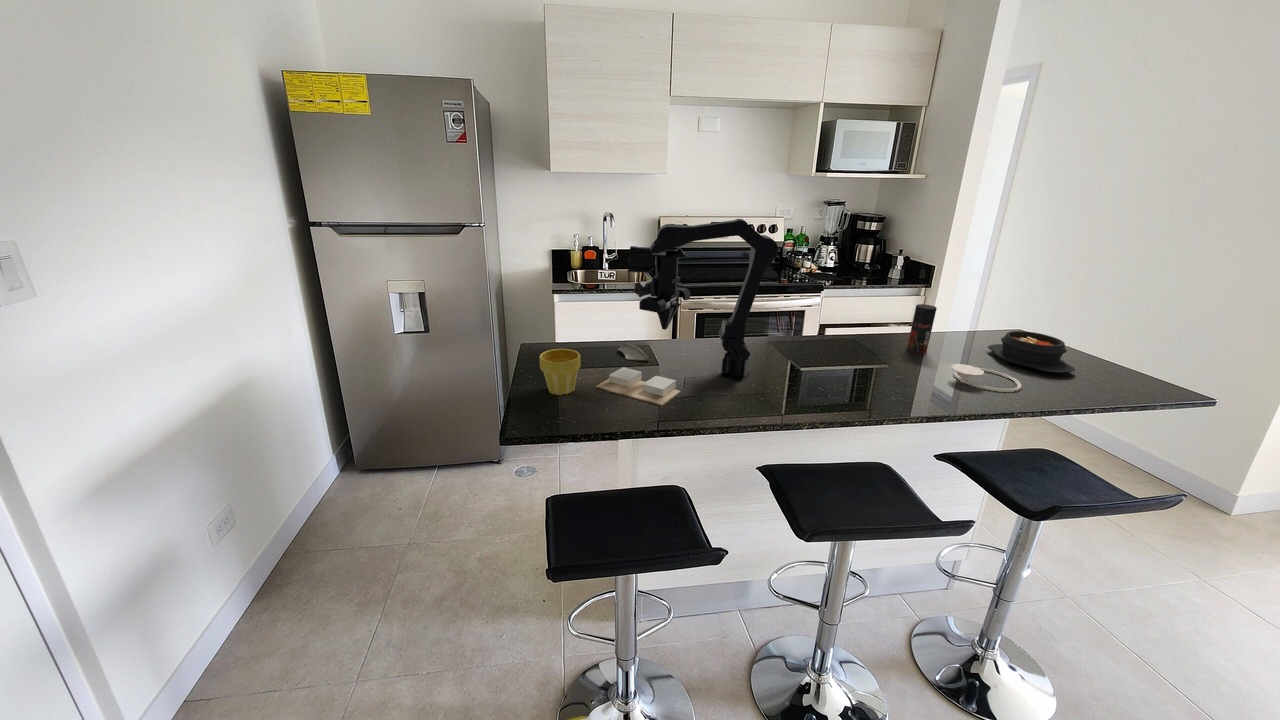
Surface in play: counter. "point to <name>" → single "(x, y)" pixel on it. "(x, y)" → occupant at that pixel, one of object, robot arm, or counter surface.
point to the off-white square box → (659, 385)
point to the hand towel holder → (974, 371)
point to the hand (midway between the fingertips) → (664, 329)
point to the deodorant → (921, 328)
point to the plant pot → (560, 369)
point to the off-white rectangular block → (625, 377)
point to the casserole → (1033, 351)
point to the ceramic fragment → (633, 353)
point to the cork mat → (638, 392)
